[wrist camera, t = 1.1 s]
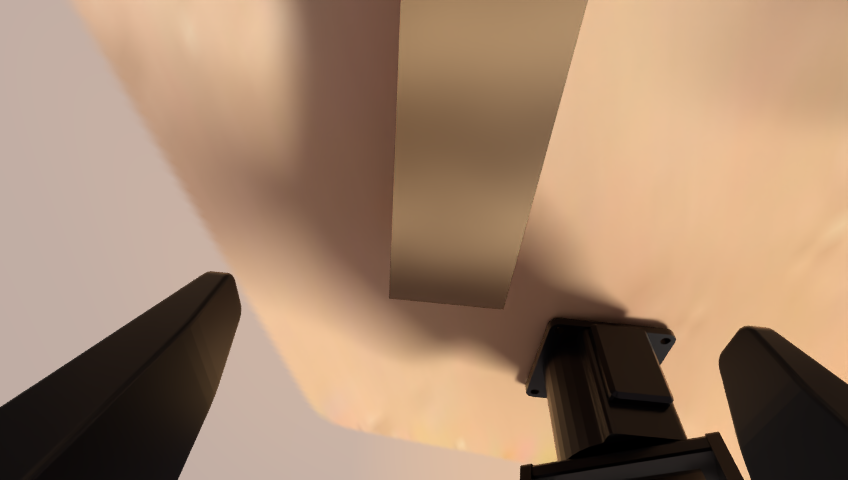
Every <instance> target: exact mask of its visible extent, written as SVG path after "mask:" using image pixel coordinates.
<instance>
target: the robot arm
mask: <svg viewBox="0 0 848 480" xmlns="http://www.w3.org/2000/svg"><path fill="white" fill-rule="evenodd" d="M240 316H241V303H240V299H239V295H238V291H237V287H236V282H235V279H234V277H233V276H232V275H231V274H229V273H223V272H212V271H210V272H206V273H204V274H203V275H201V276H199V277H198V278H196V279H195V280H193V281H192V282H190V283H189V284H187V285H186V286H184V287H183V288H181V289H180V290H178V291H177V292H175V293H174V294H172V295H171V296H169V297H168V298H166V299H165V300H163V301H161V302H160V303H158V304H157V305H155V306H154V307H152V308H151V309H149V310H148V311H146V312H145V313H143V314H142V315H140V316H138V317H137V318H135V319H134V320H132V321H131V322H129V323H128V324H126V325H125V326H123V327H122V328H120V329H119V330H117V331H116V332H114V333H113V334H111V335H109V336H108V337H106V338H105V339H103V340H102V341H100V342H99V343H97V344H96V345H94V346H93V347H91V348H90V349H88V350H87V351H85V352H84V353H82V354H81V355H79V356H77V357H76V358H74V359H73V360H71V361H70V362H68V363H67V364H65V365H64V366H62V367H61V368H59V369H58V370H56V371H55V372H53V373H52V374H50V375H48V376H47V377H45V378H44V379H42V380H41V381H39V382H38V383H36V384H35V385H33V386H32V387H30V388H29V389H27V390H26V391H24V392H22V393H21V394H19V395H18V396H16V397H15V398H13V399H12V400H10V401H9V402H7V403H6V404H4V405H3V406H1V407H0V480H178V478H179V476H180V474H181V471H182V469H183V467H184V465H185V462H186V460H187V458H188V456H189V454H190V451H191V449H192V447H193V445H194V442H195V440H196V438H197V436H198V434H199V431H200V429H201V427H202V424H203V422H204V420H205V418H206V416H207V413H208V411H209V409H210V407H211V404H212V402H213V399H214V397H215V394H216V391H217V389H218V386H219V383H220V380H221V376H222V373H223V370H224V367H225V363H226V361H227V357H228V355H229V351H230V348H231V345H232V342H233V339H234V336H235V332H236V329H237V326H238V323H239V320H240ZM559 327H560V328H559ZM675 341H676V338H675V336H674V334H673V332H672V331H671V330H670V329H664V328H654V327H644V326H633V325H623V324H613V323H603V322H593V321H582V320H572V319H562V318H556V319H553V320H551V321H550V322H549V323H548V326H547V328H546V331H545V334H544V336H543V339H542V342H541V345H540V347H539V350H538V353H537V355H536V358H535V361H534V364H533V366H532V369H531V372H530V374H529V377H528V380H527V383H526V393H527V395H529V396H532V397H541V398H547V400H548V406H549V412H550V418H551V424H552V430H553V436H554V442H555V448H556V454H557V459H558V461H557V462H551V463H545V464H539V465H532V464H527V465H521V466H520V480H744V479H743V477H742V475H741V473H740V471H739V469H738V467H737V466H736V464H735V462H734V460H733V458H732V456H731V454H730V452H729V450H728V448H727V446H726V444H725V443H724V441H723V439H722V437H721V435H720V433H719V432H713V433H707V434H705V436H704V437H698V438H692V439H687V436H686V434H685V431H684V429H683V426H682V424H681V422H680V419H679V417H678V414H677V412H676V409H675V407H674V404H673V401H674V400H673V396H672V393H671V391H670V389H669V386H668V384H667V381H666V379H665V376H664V374H663V372H662V369H661V367H660V364H661V363H662V361H663V360H664V358H665V357H666V355H667V354H668V352H669V351H670V349H671V348H672V346H673V345H674V343H675ZM719 369H720V373H721V377H722V381H723V385H724V389H725V393H726V397H727V401H728V404H729V408H730V412H731V416H732V420H733V424H734V428H735V432H736V436H737V439H738V443H739V446H740V450H741V453H742V456H743V459H744V461H745V464H746V467H747V470H748V472H749V475H750V478H751V480H848V384H847V383H845V382H844V381H843V380H841V379H840V378H839V377H837V376H836V375H834V374H833V373H832V372H830V371H829V370H828V369H826V368H825V367H823V366H822V365H821V364H819V363H818V362H817V361H815V360H814V359H812V358H811V357H810V356H808V355H807V354H806V353H804V352H803V351H801V350H800V349H799V348H797V347H796V346H795V345H793V344H792V343H790V342H789V341H788V340H786V339H785V338H784V337H782V336H781V335H779V334H778V333H777V332H775V331H774V330H772V329H770V328H766V327H756V326H744V327H742V328H740V329H739V330H738V332H737V333H736V334H735V335H734V337H733V338H732V339H731V341H730V342H729V343H728V345H727V346H726V347H725V349H724V350H723V351H722V353H721V354H720V357H719Z"/></svg>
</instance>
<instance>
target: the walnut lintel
mask: <svg viewBox="0 0 848 480" xmlns="http://www.w3.org/2000/svg"><path fill="white" fill-rule="evenodd" d="M587 2H588V0H401V2H400V28H399V54H398V80H397V106H396V133H395V159H394V185H393V211H392V238H391V264H390V290H389V298H391V299H401V300H411V301H422V302H432V303H442V304H452V305H463V306H473V307H483V308H493V309H503V308H504V305H505V301H506V297H507V294H508V290H509V286H510V283H511V279H512V276H513V272H514V268H515V265H516V261H517V257H518V254H519V250H520V246H521V243H522V239H523V235H524V232H525V228H526V224H527V221H528V217H529V213H530V210H531V206H532V202H533V199H534V195H535V192H536V188H537V184H538V181H539V177H540V173H541V170H542V166H543V162H544V159H545V155H546V151H547V148H548V144H549V140H550V137H551V133H552V129H553V126H554V122H555V119H556V115H557V111H558V108H559V104H560V100H561V97H562V93H563V89H564V86H565V82H566V78H567V75H568V71H569V67H570V64H571V60H572V56H573V53H574V49H575V46H576V42H577V38H578V35H579V31H580V27H581V24H582V20H583V16H584V13H585V9H586V5H587Z"/></svg>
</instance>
